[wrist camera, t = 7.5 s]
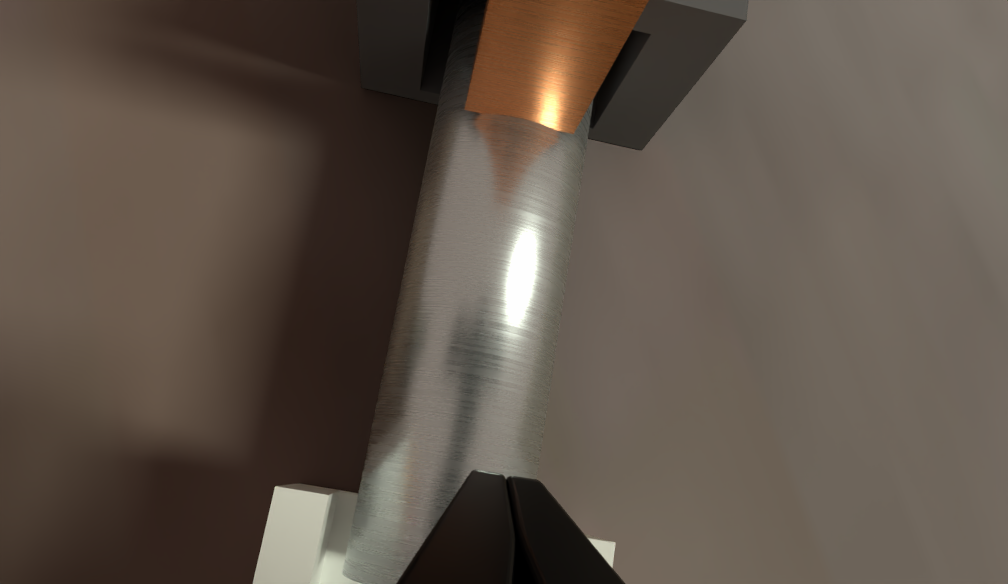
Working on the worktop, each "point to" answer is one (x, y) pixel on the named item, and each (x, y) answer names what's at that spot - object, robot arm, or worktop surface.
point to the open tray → (320, 536)
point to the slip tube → (483, 266)
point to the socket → (621, 97)
